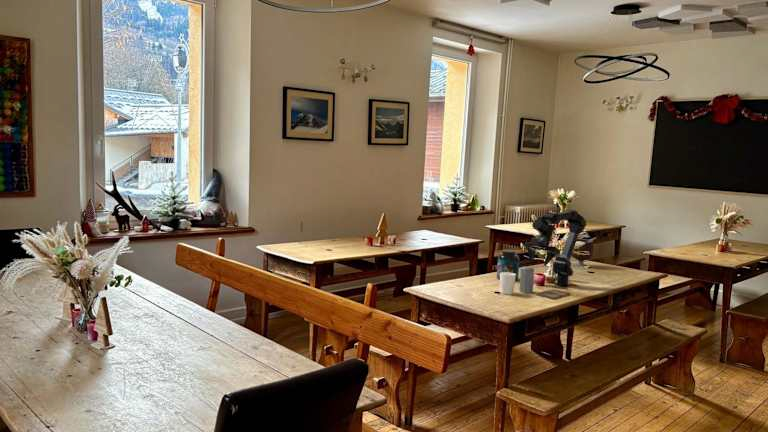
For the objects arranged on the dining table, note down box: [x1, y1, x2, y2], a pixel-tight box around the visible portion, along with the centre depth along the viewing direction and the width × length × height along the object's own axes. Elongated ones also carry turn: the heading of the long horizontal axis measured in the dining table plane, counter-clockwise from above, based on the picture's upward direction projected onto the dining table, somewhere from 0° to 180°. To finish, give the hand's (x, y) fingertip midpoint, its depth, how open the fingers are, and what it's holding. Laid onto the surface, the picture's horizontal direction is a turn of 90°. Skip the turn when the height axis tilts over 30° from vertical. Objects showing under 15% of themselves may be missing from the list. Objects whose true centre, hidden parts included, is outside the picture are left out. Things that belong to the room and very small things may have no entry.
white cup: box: [499, 272, 516, 296], centre depth 285 cm, size 8×8×10 cm
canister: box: [519, 266, 535, 294], centre depth 289 cm, size 6×6×12 cm
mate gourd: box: [571, 237, 597, 268], centre depth 364 cm, size 16×14×20 cm
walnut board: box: [535, 288, 571, 300], centre depth 285 cm, size 16×10×1 cm, turn 132°
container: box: [496, 249, 520, 282], centre depth 318 cm, size 12×12×17 cm
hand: (537, 264), depth 291 cm, fingers open, 9 cm apart
